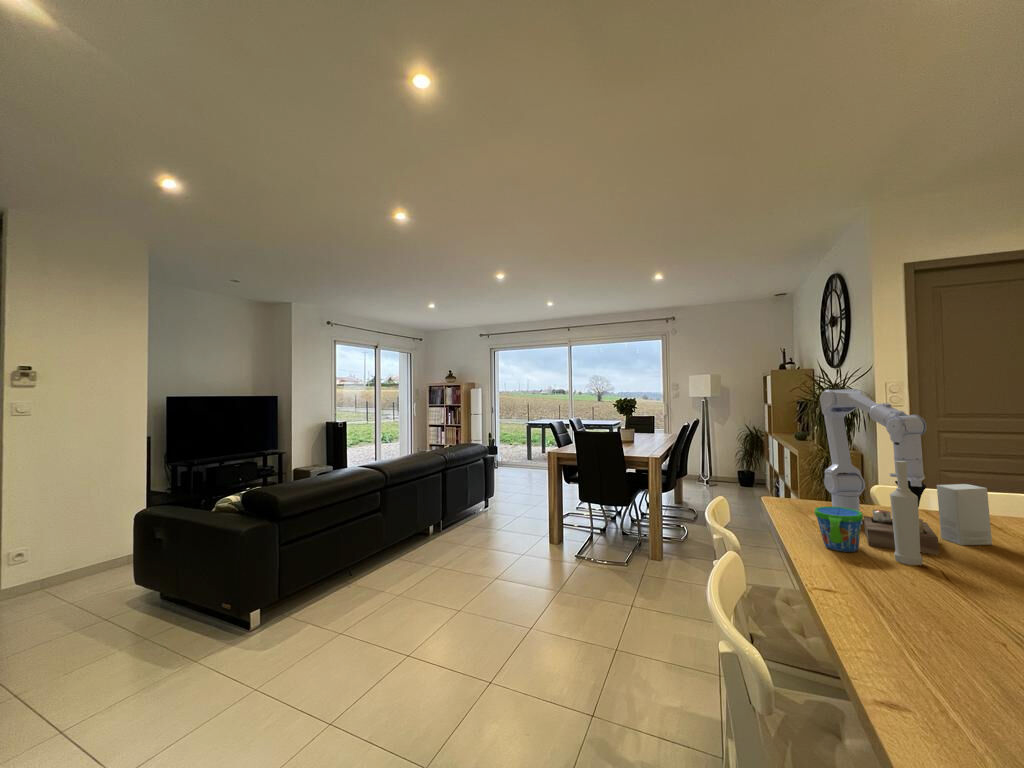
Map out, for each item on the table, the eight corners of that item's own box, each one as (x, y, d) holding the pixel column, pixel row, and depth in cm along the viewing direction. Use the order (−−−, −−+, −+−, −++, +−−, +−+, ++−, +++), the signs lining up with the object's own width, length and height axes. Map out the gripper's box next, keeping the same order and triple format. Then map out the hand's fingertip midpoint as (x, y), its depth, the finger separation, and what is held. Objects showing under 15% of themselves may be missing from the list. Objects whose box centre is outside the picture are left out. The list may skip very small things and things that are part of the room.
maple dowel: (903, 532, 118) (901, 516, 118) (922, 534, 116) (921, 518, 116) (905, 536, 115) (903, 519, 115) (925, 538, 113) (924, 521, 113)
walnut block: (864, 530, 130) (863, 515, 130) (927, 538, 122) (926, 522, 122) (868, 545, 117) (867, 529, 117) (939, 555, 109) (937, 537, 109)
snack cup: (825, 536, 125) (822, 502, 125) (871, 544, 117) (868, 507, 117) (809, 551, 115) (806, 514, 115) (858, 561, 107) (855, 521, 107)
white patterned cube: (873, 523, 127) (872, 508, 127) (890, 525, 124) (889, 510, 124) (874, 527, 123) (873, 511, 124) (892, 529, 121) (891, 513, 121)
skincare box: (971, 538, 121) (966, 483, 121) (995, 546, 114) (990, 488, 115) (939, 538, 121) (934, 483, 122) (961, 545, 115) (956, 488, 116)
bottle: (928, 566, 102) (920, 463, 103) (903, 565, 103) (896, 463, 104) (913, 558, 107) (905, 460, 108) (889, 557, 108) (882, 460, 109)
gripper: (883, 455, 125) (887, 501, 124) (894, 461, 113) (898, 512, 112) (916, 456, 121) (919, 503, 120) (930, 462, 109) (935, 516, 108)
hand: (911, 508), depth 116 cm, fingers closed
